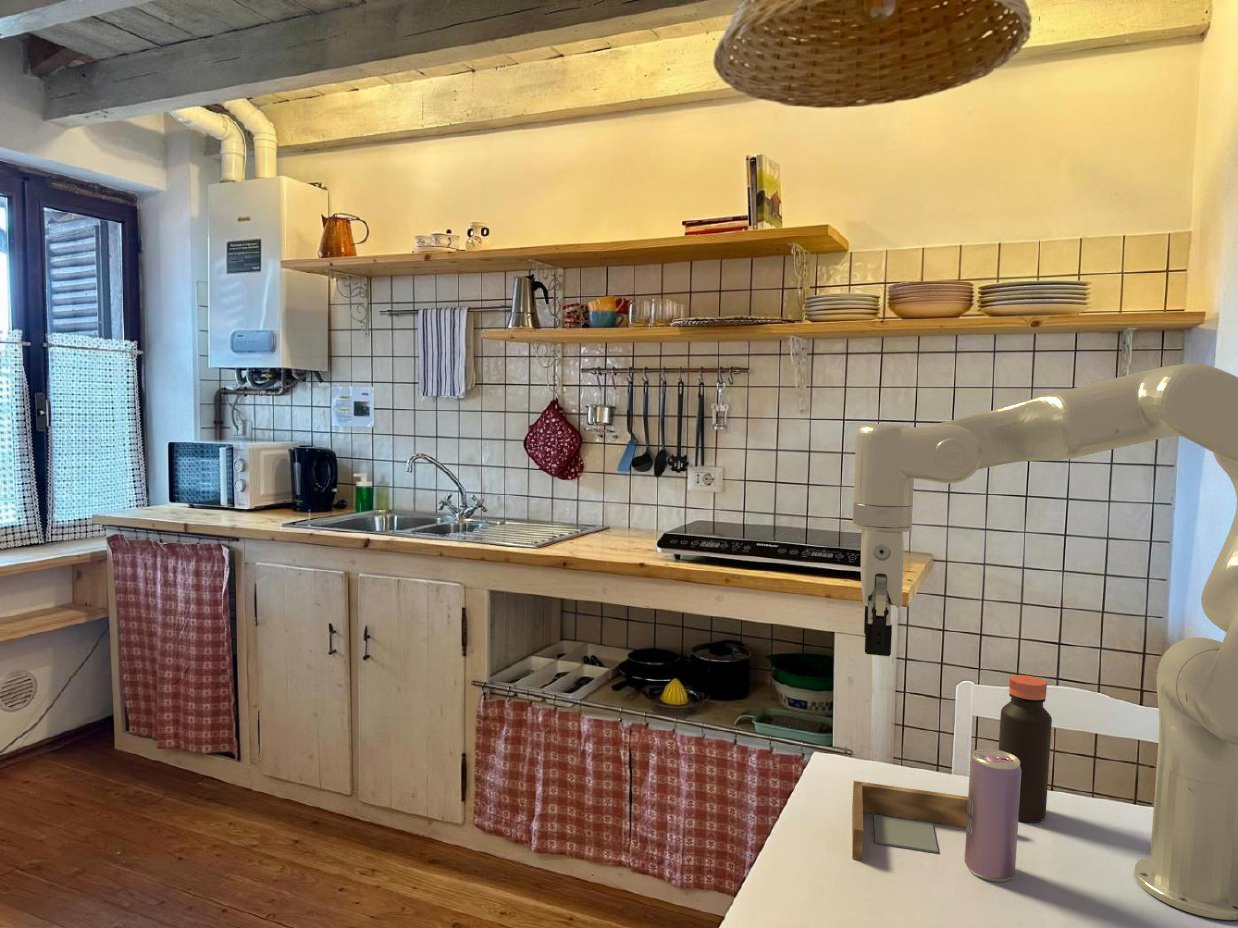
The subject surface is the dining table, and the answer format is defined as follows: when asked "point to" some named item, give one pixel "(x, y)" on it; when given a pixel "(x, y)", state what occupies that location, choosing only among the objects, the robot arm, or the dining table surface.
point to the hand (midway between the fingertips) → (876, 644)
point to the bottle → (1028, 742)
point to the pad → (905, 833)
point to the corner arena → (903, 807)
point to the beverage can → (993, 814)
